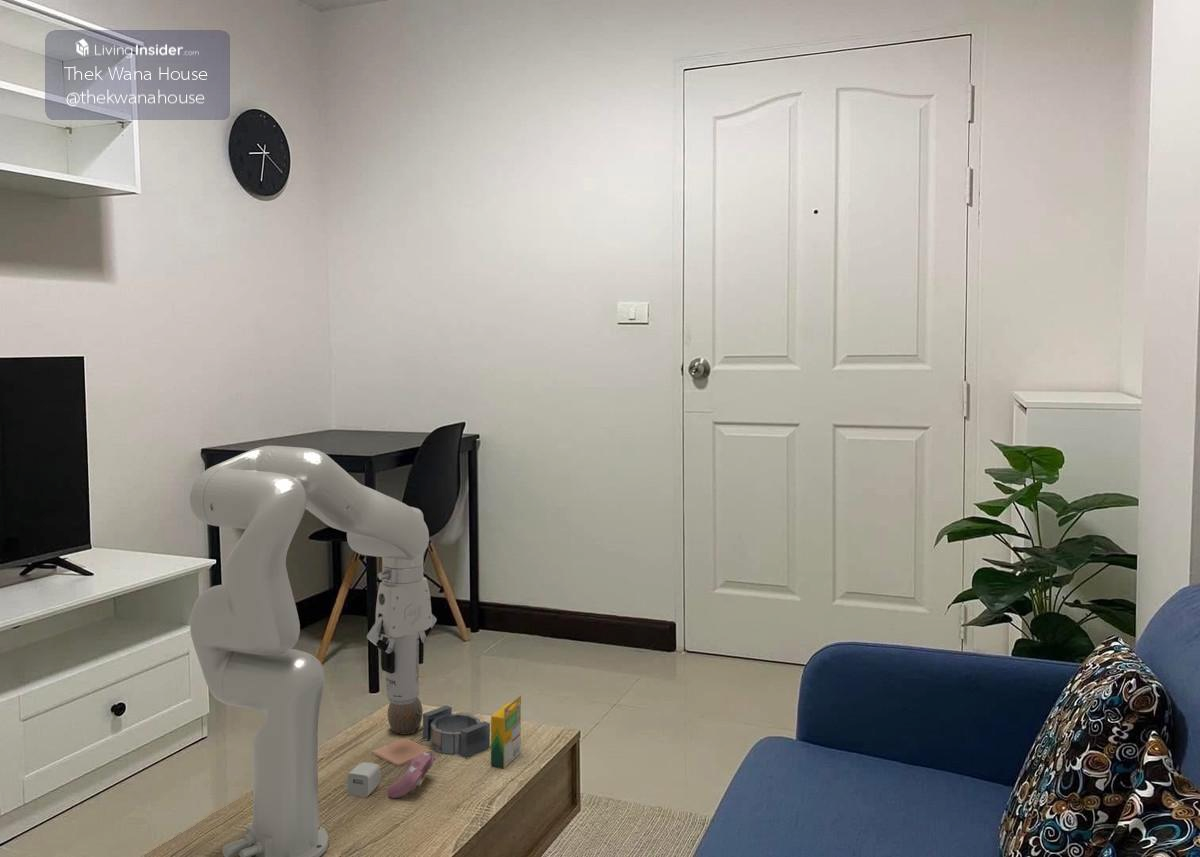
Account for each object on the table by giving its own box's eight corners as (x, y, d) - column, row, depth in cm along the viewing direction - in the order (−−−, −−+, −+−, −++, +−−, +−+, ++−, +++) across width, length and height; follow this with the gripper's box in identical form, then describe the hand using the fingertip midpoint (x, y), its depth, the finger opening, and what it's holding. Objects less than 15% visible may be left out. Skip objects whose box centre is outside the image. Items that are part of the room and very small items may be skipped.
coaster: (397, 766, 176) (397, 764, 176) (371, 753, 181) (371, 750, 181) (431, 752, 182) (431, 750, 182) (405, 740, 187) (405, 738, 187)
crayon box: (506, 750, 184) (508, 692, 183) (521, 753, 183) (522, 694, 182) (489, 766, 177) (490, 706, 176) (504, 769, 176) (505, 708, 175)
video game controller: (405, 810, 163) (423, 777, 162) (383, 795, 164) (400, 763, 163) (426, 783, 173) (443, 752, 172) (405, 770, 174) (422, 739, 172)
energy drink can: (383, 695, 182) (383, 619, 181) (414, 691, 185) (415, 616, 183) (389, 707, 177) (389, 629, 175) (421, 703, 179) (422, 625, 177)
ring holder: (496, 745, 186) (496, 720, 186) (458, 761, 179) (459, 735, 178) (453, 726, 194) (453, 702, 194) (415, 740, 187) (415, 716, 186)
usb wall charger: (347, 794, 165) (347, 772, 165) (365, 776, 172) (365, 755, 172) (368, 797, 164) (368, 775, 164) (386, 779, 171) (386, 758, 171)
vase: (386, 724, 194) (386, 683, 193) (420, 721, 196) (420, 680, 195) (389, 739, 188) (389, 696, 187) (424, 735, 190) (424, 692, 189)
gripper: (376, 586, 169) (376, 684, 171) (451, 569, 182) (450, 660, 184) (351, 578, 174) (352, 673, 176) (426, 562, 187) (425, 651, 189)
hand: (402, 665), depth 180 cm, fingers closed on energy drink can, 6 cm apart
